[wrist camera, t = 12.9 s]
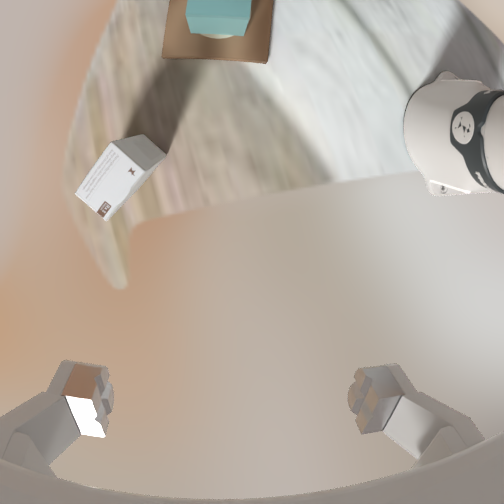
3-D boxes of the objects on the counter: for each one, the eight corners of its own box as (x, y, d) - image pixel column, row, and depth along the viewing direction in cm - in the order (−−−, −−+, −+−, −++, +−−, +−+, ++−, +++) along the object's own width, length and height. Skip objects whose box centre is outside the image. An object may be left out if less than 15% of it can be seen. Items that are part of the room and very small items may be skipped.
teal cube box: (248, -7, 28) (255, -31, 22) (243, 36, 30) (249, 17, 24) (197, -10, 27) (193, -34, 21) (190, 33, 30) (185, 14, 23)
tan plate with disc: (273, -19, 29) (279, -33, 25) (265, 63, 33) (271, 56, 29) (176, -25, 27) (172, -39, 23) (163, 58, 32) (157, 50, 28)
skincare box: (142, 132, 35) (110, 135, 23) (169, 156, 36) (148, 169, 25) (110, 171, 36) (70, 191, 25) (137, 194, 37) (106, 223, 26)
